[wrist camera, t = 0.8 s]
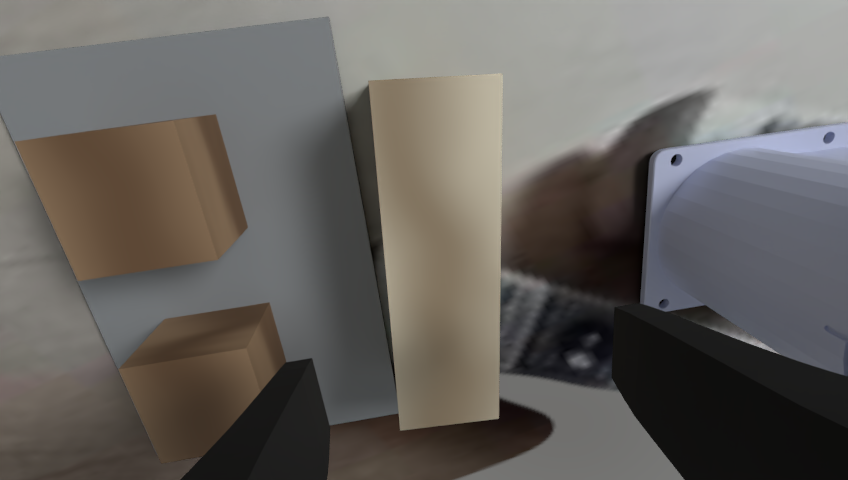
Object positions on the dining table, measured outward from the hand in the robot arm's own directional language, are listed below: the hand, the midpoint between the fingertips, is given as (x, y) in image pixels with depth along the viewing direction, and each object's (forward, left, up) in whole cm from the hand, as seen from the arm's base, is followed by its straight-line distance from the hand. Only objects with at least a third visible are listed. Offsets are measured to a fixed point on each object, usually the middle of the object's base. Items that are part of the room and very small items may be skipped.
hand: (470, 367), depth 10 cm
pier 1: (+9, -4, -9) cm, 14 cm away
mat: (+8, 0, -9) cm, 13 cm away
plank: (0, 0, -10) cm, 10 cm away
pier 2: (+9, +4, -9) cm, 14 cm away
